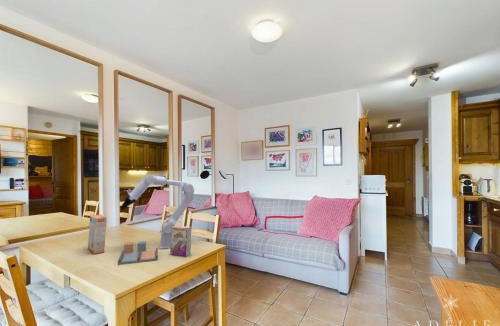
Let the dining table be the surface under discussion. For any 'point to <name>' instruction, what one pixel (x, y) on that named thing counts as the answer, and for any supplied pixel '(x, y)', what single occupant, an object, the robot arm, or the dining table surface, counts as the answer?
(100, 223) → the cracker box
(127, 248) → the terracotta block
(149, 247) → the dining table surface
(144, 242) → the slate-blue block
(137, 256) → the slot rack
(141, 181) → the robot arm
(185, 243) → the candy bar box
